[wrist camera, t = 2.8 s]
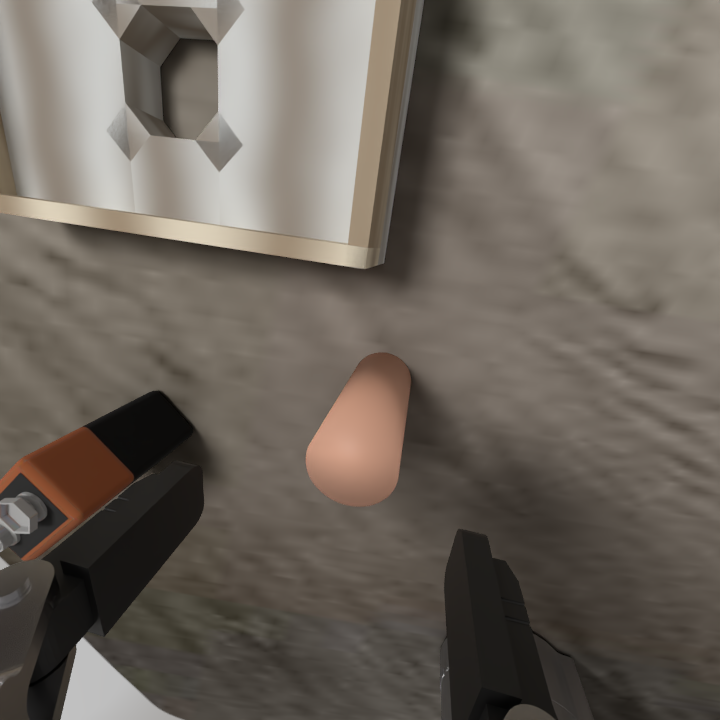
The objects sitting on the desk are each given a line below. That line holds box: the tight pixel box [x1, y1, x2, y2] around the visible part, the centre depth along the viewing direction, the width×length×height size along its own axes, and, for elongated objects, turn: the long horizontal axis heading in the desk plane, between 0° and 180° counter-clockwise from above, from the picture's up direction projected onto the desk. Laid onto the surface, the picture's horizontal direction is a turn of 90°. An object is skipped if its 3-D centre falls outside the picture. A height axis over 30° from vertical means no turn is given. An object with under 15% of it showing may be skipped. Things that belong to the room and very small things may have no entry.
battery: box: [0, 391, 193, 561], centre depth 21 cm, size 4×7×10 cm, turn 129°
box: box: [0, 0, 424, 269], centre depth 15 cm, size 22×14×6 cm, turn 82°
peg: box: [306, 353, 411, 507], centre depth 17 cm, size 4×4×9 cm
